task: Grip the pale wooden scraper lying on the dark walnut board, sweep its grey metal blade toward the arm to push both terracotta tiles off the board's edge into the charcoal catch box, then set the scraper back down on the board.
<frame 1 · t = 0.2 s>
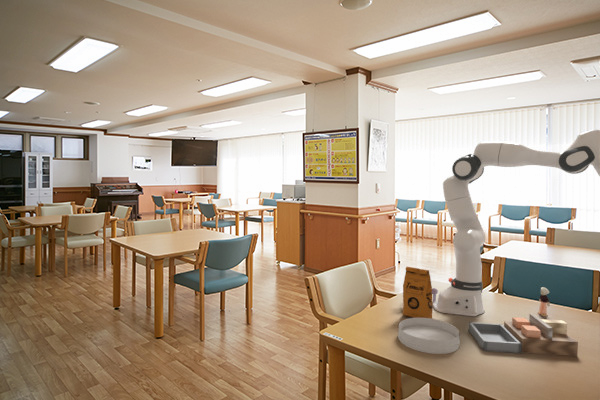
scraper: (540, 331, 137), point 5 cm above the table, touching walnut board
catch box: (493, 341, 140), on the table
toy sheep: (417, 303, 183), on the table
terracotta tile 1: (530, 334, 134), point 5 cm above the table, touching walnut board
coffee package: (417, 317, 164), on the table
dish: (428, 341, 141), on the table
walnut board: (538, 344, 138), on the table
terracotta tile 2: (520, 326, 142), point 5 cm above the table, touching walnut board
grandmother figurine: (543, 315, 168), on the table
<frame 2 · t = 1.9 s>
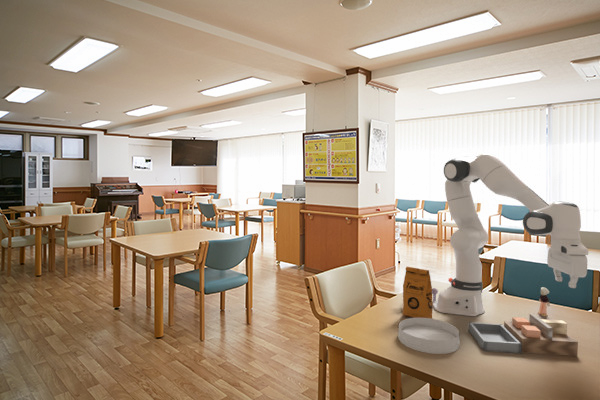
hand: (565, 284, 135), 23 cm above the table, tool pointing down, fingers open, 8 cm apart
nothing on the table moved.
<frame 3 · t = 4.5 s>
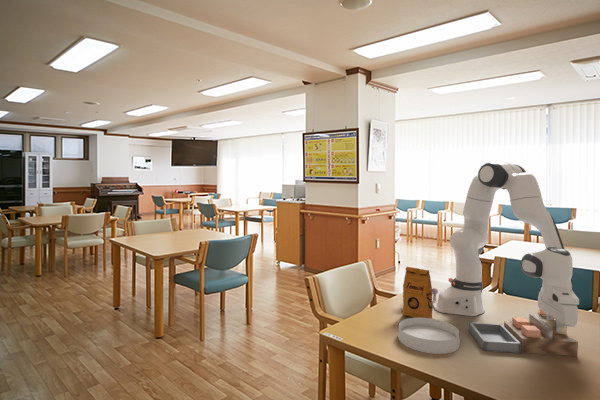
hand: (554, 329, 137), 6 cm above the table, tool pointing down, fingers closed on scraper, 3 cm apart
scraper: (540, 331, 137), point 5 cm above the table, touching gripper, walnut board
everything else where it was.
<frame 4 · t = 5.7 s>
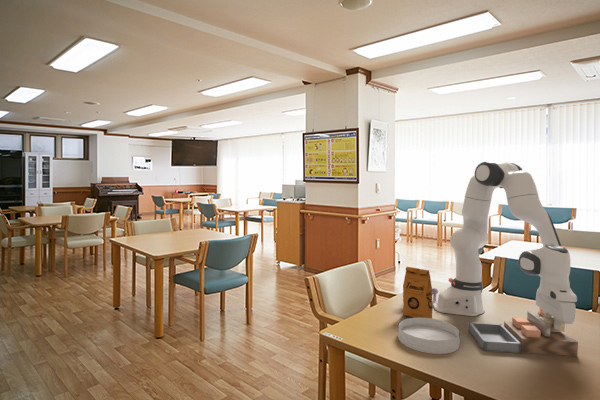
hand: (552, 326, 137), 7 cm above the table, tool pointing down, fingers closed on scraper, 3 cm apart
scraper: (537, 328, 138), point 6 cm above the table, touching gripper
everything else where it was.
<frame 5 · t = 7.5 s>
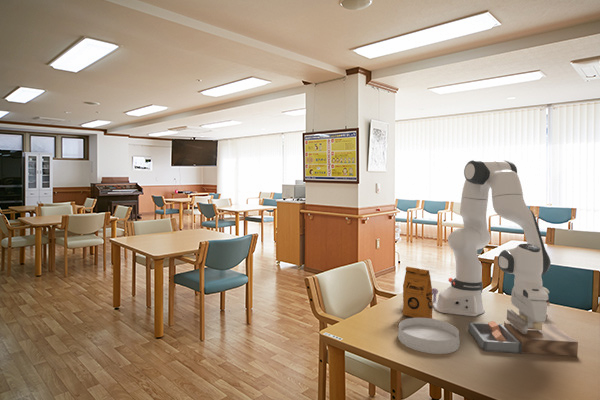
hand: (526, 324, 138), 7 cm above the table, tool pointing down, fingers closed on scraper, 3 cm apart
scraper: (516, 326, 139), point 6 cm above the table, touching gripper
terracotta tile 1: (503, 336, 135), point 4 cm above the table, tilted 129°, touching catch box
terracotta tile 2: (498, 328, 143), point 4 cm above the table, tilted 113°, touching catch box
everything else where it was.
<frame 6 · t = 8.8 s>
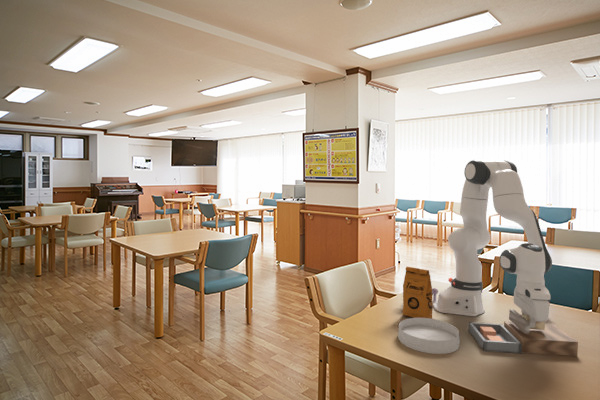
hand: (528, 324, 138), 7 cm above the table, tool pointing down, fingers closed on scraper, 3 cm apart
scraper: (518, 326, 138), point 6 cm above the table, touching gripper
terracotta tile 1: (495, 338, 136), point 3 cm above the table, tilted 180°, touching catch box
terracotta tile 2: (487, 329, 144), point 3 cm above the table, tilted 180°, touching catch box
everything else where it was.
when the fingers open (6 cm above the table, at t = 10.2 s): scraper stays where it is, resting on walnut board.
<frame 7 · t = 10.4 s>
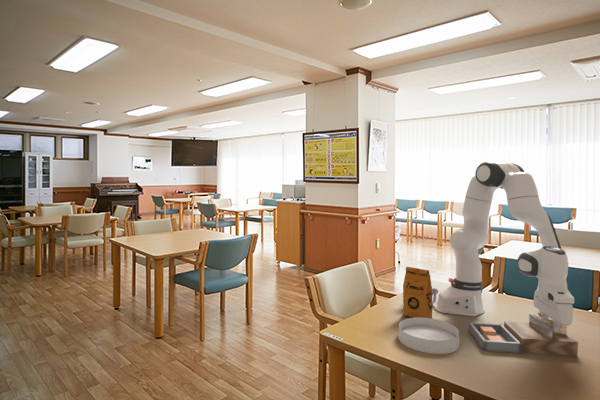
hand: (550, 328, 137), 6 cm above the table, tool pointing down, fingers open, 5 cm apart
scraper: (540, 331, 137), point 5 cm above the table, touching walnut board
everything else where it was.
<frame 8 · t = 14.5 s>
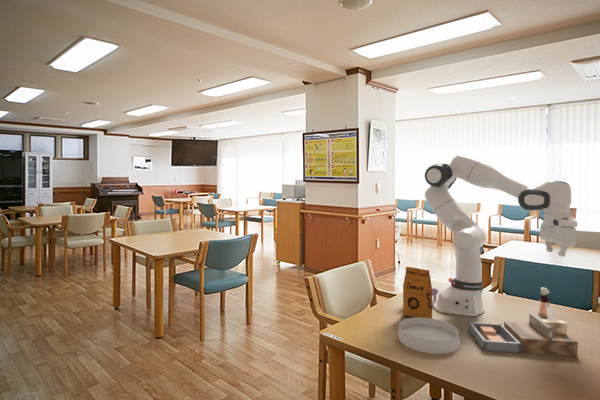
hand: (555, 253, 151), 31 cm above the table, tool pointing down, fingers open, 8 cm apart
nothing on the table moved.
at the end: terracotta tile 1 inside the target area (4.6 cm from its centre), point 3.0 cm above the table; terracotta tile 2 inside the target area (4.1 cm from its centre), point 3.0 cm above the table; scraper inside the target area (1.3 cm from its centre), point 5.0 cm above the table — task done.
